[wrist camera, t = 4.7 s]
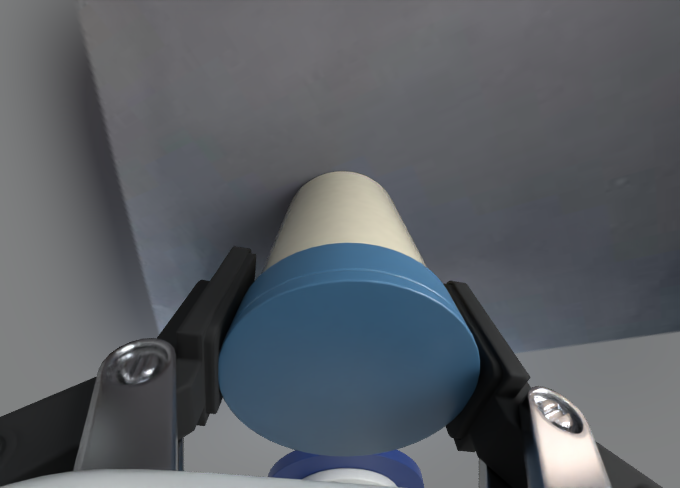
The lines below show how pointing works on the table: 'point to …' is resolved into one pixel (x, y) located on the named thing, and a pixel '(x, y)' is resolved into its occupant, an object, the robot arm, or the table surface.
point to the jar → (341, 217)
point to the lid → (347, 352)
